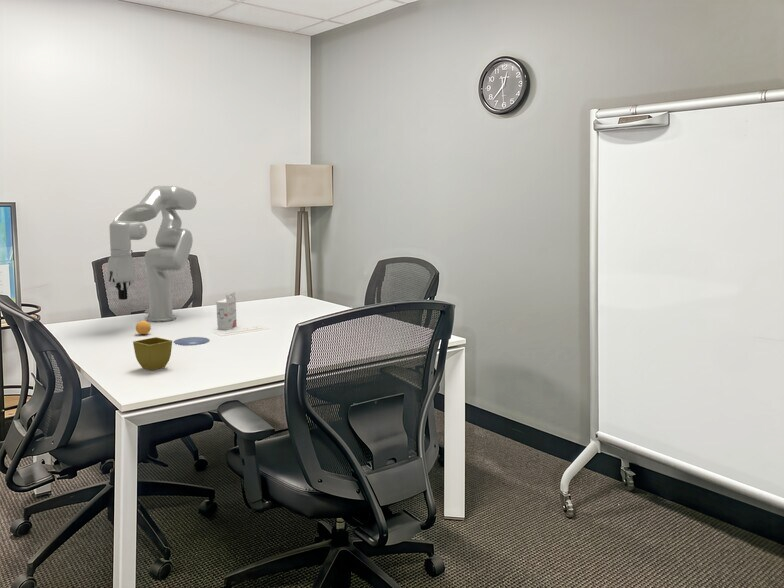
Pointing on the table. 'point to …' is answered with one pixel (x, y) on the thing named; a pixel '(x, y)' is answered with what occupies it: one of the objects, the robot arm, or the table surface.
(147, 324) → the ball
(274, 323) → the table surface
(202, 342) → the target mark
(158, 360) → the flower pot
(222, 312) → the ink cartridge box
